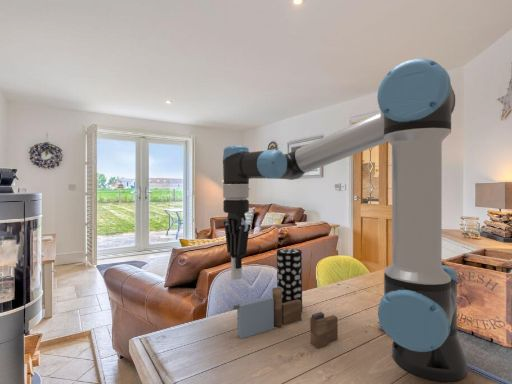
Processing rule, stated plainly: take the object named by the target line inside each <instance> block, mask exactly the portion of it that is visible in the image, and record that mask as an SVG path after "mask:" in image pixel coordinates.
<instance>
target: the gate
mask: <svg viewBox="0 0 512 384" xmlns="http://www.w3.org/2000/svg"><path fill="white" fill-rule="evenodd" d="M232 308H233V310H236V311H237V312H236V315H237V317H236V320H237V321H236V322H237V323H236V326H237V327H236V328H237V331H236V332H237V333H236V334H237V337H239V339H240V340H241V339H244V338H248V337H252V336H254V335H259V334H261V332H262V333H265V332H268V331H270V330H273V329H275V327H274V298H273V296H271V295H269V296H264V297H260V298H256V299H252V300H248V301H247V300H246V301H244V302H240V303H237V304H235V305H233V307H232Z"/></svg>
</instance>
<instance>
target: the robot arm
mask: <svg viewBox="0 0 512 384" xmlns="http://www.w3.org/2000/svg"><path fill="white" fill-rule="evenodd" d="M376 98H377V103H378V108H379V110H380V111H379V112H377V113H376V114H373V115H370V116H369V117H366V118H364V119H362V120H359V121H358V122H355V123H353V124H350V125H348V126H346V127H344V128H342V129H339V130H337V131H334V132H333V133H330V134H328V135H326V136H324V137H322V138H320V139H317V140H314V141H313V142H310V143H307V144H306V145H304V146H301V147H299V148H297V149H295V150H292V151H290V152H288V153H284V152H283V151H282V150H280V149H266V150H259V151H249V147H248V146H245V145H228V146H226V147H225V148H224V149H223V156H222V170H223V171H222V172H223V173H222V174H223V184H222V193H223V194H222V197H223V199H224V200H223V203H222V204H223V207H222V208H223V212H224V213H226V214H227V217H226V218H227V219H226V220H224V221H223V227H224V232H225V241H226V250H227V253H228V254H229V256H230V265H231V266H230V270H231V271H230V272H231V273H230V276H231V277H230V278H231V280H233V281H235V280H240V279H242V278H243V276H242V275H243V272H242V271H243V269H242V268H243V267H242V265H243V262H242V258H243V257H245V256H246V255H247V252H248V251H247V250H248V242H249V232H250V230H251V226H252V225H251V224H250V223H247V222H246V220H247V219H246V213H249V210H250V201H249V199H248V198H249V197H250V196H249V195H250V187H249V184H250V180H251V179H266V180H267V179H269V180H270V179H271V180H272V179H273V180H274V179H276V180H291V181H292V180H297V179H300V178H302V177H303V176H304V175H305V174H307V173H309V172H311V171H314V170H317V169H320V168H322V167H324V166H325V167H326V166H327V165H331V164H333V163H335V162H338V161H340V160H343V159H346V158H349V157H351V156H354V155H357V154H359V153H361V152H365V151H367V150H369V149H372V148H375V147H377V146H380V145H382V144H386V143H389V144H390V145H391V191H392V192H391V215H392V216H391V224H392V225H391V231H392V232H391V233H392V234H391V235H392V236H391V237H392V238H391V245H392V247H391V252H392V254H391V256H392V257H391V258H392V259H391V261H392V262H391V263H390V264H389V265H388V266H386V268H384V272H383V279H384V280H383V287H384V289H383V296H382V297H381V299H380V301H379V305H378V310H377V316H378V320H379V324H380V325H381V328H382V330H383V331H384V333H385V334H387V335H388V337H389V338H390V339H391V340H392V346H391V351H392V352H391V355H392V358H393V360H394V361H395V363H396V364H397V365H398V366H400V367H401V368H403V369H404V370H405V371H407V372H410V374H413V375H415V376H417V377H421V378H423V379H426V380H427V379H428V380H432V381H436V382H446V383H447V382H456V381H460V380H462V379H464V378H465V377H466V376H467V373H468V372H467V370H468V367H467V366H468V365H467V359H466V356H465V353H464V350H463V348H462V344H461V342H460V339H459V337H458V283H459V280H458V276H457V271H456V270H455V269H454V268H453V267H450V266H447V265H444V264H442V262H443V261H442V259H443V258H442V255H443V253H442V250H443V249H442V247H443V245H442V242H443V240H442V237H443V236H442V234H443V233H442V231H443V230H442V228H443V226H442V220H443V219H442V218H443V216H442V213H443V212H442V209H443V208H442V206H443V205H442V201H443V200H442V197H443V196H442V194H443V193H442V188H443V187H442V186H443V185H442V182H443V181H442V178H443V177H442V176H443V175H442V172H443V171H442V170H443V169H442V168H443V167H442V164H443V163H442V161H443V160H442V156H443V155H442V154H443V153H442V149H443V148H442V147H443V145H442V144H443V141H444V140H445V139H446V138H447V137H448V136H449V135H450V134H451V133H452V114H453V113H454V110H455V106H456V94H455V90H454V89H453V87H452V84H451V78H450V75H449V73H448V71H447V70H446V69H445V68H444V67H443V66H442V65H441V64H440V63H438V62H437V61H434V60H432V59H429V58H411V59H409V60H406V61H402V62H401V63H399V64H396V65H395V66H394V67H393V68H391V70H390V71H388V72H387V74H386V75H385V76H384V77H383V79H382V80H381V82H380V84H379V86H378V90H377V97H376Z"/></svg>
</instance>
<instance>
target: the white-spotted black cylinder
mask: <svg viewBox="0 0 512 384" xmlns="http://www.w3.org/2000/svg"><path fill="white" fill-rule="evenodd" d="M302 255H303V251H302V250H301V249H298V248H279V249H277V250H276V285H277V287H276V288H281V289H282V303H285V302H289V301H293V300H296V299H299V300H301V313H303V265H302V264H303V256H302Z"/></svg>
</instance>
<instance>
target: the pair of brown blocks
mask: <svg viewBox="0 0 512 384" xmlns="http://www.w3.org/2000/svg"><path fill="white" fill-rule="evenodd" d="M272 298H274V329H275V328H276V329H279V328H282V327H283V326H286V325H289V324H293V323H296V322H300V321H302V312H301V300H299V299H296V300H293V301H289V302H285V303H282V289H281V288H277V287H273V288H272ZM309 319H310V321H309V323H310V344H311V345H312V346H314V347H316V348H317V349H321V348H323V347H327V346H328V344H329V343H331V342H334V341H337V340H338V339H339V338H338V337H339V335H338V327H339V326H338V325H339V324H338V317H337V316H336V315H334V314H332V315H329V316H326V317H325V313H323V312H321V311H319V312H316V313H314V314H311V316H310V317H309Z"/></svg>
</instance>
